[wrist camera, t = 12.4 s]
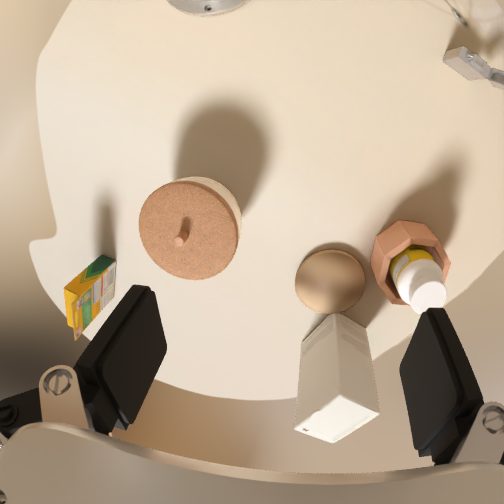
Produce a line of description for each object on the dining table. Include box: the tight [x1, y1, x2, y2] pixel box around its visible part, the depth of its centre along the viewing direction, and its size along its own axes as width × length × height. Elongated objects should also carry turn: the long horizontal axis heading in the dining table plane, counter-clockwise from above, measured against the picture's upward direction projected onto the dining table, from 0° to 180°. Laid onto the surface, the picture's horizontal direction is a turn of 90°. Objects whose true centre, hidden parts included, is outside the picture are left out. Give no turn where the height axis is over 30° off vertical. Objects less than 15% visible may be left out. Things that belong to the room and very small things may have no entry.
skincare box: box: [294, 312, 380, 443], centre depth 36 cm, size 8×7×16 cm
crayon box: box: [64, 255, 116, 340], centre depth 40 cm, size 7×3×12 cm, turn 162°
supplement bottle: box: [388, 244, 447, 314], centre depth 31 cm, size 5×5×10 cm
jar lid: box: [295, 249, 365, 314], centre depth 39 cm, size 9×9×1 cm
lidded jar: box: [139, 176, 242, 280], centre depth 33 cm, size 11×11×9 cm
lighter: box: [443, 46, 504, 90], centre depth 21 cm, size 7×2×8 cm, turn 69°
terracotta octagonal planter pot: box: [370, 220, 451, 305], centre depth 34 cm, size 9×9×5 cm
